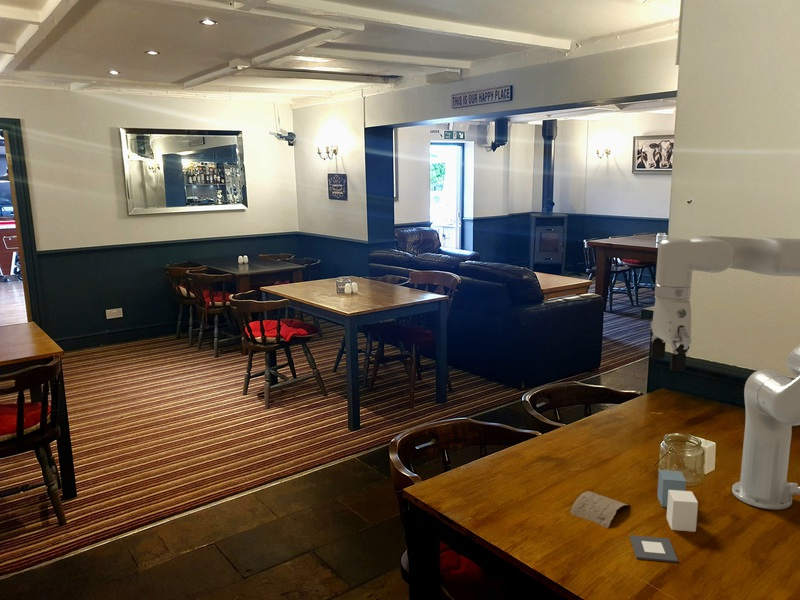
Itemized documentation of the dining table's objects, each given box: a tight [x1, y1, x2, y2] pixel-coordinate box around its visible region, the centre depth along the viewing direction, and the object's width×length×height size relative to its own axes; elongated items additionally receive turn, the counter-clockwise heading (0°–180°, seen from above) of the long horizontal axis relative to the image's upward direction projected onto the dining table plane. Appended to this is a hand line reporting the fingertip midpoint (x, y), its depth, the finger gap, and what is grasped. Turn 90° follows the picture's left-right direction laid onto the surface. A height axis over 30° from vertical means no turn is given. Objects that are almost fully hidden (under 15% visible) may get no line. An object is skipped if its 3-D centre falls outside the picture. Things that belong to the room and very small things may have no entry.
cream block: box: [666, 490, 699, 532], centre depth 138 cm, size 5×5×7 cm
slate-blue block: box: [656, 469, 687, 508], centre depth 148 cm, size 5×5×7 cm
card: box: [629, 534, 679, 563], centre depth 130 cm, size 8×8×1 cm
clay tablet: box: [569, 490, 628, 529], centre depth 146 cm, size 14×10×3 cm
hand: (667, 364), depth 146 cm, fingers open, 9 cm apart
